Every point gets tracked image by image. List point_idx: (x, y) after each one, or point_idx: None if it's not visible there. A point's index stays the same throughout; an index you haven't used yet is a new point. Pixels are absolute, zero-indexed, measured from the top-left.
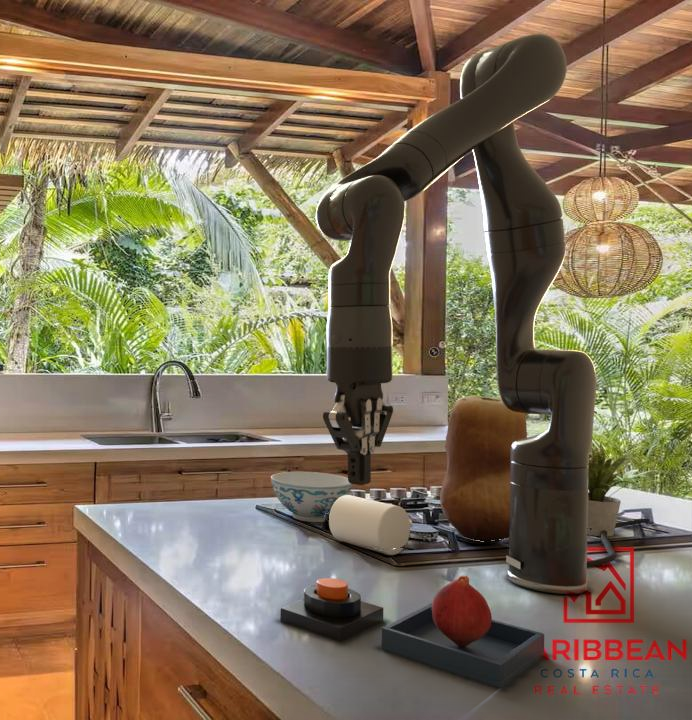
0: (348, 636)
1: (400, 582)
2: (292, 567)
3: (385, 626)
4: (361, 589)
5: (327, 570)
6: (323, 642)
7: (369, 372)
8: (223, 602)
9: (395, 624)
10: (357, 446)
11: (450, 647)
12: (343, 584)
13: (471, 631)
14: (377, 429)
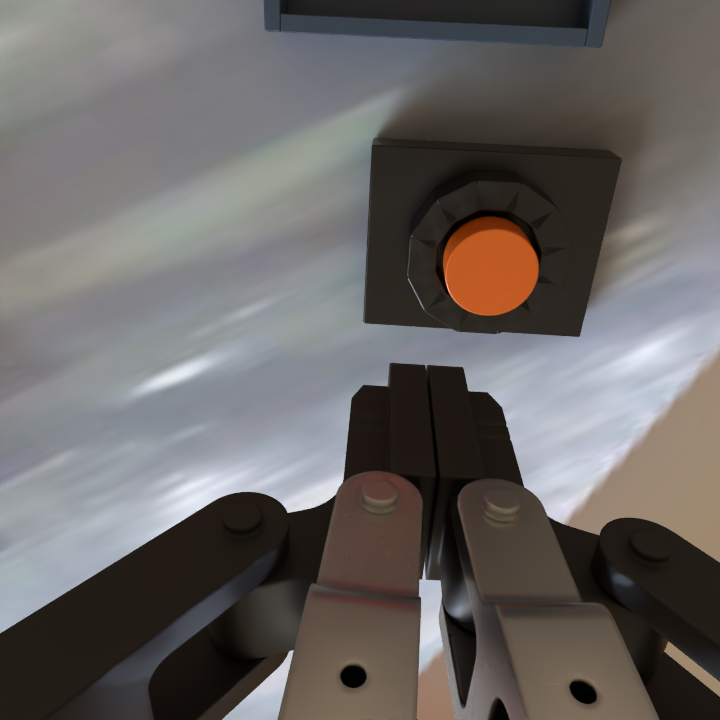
0: (569, 149)
1: (34, 242)
2: (182, 477)
3: (582, 44)
4: (184, 291)
5: (125, 414)
6: (636, 182)
7: None
8: (537, 464)
9: (543, 29)
10: (666, 547)
11: None
12: (485, 242)
13: None
14: (341, 619)
